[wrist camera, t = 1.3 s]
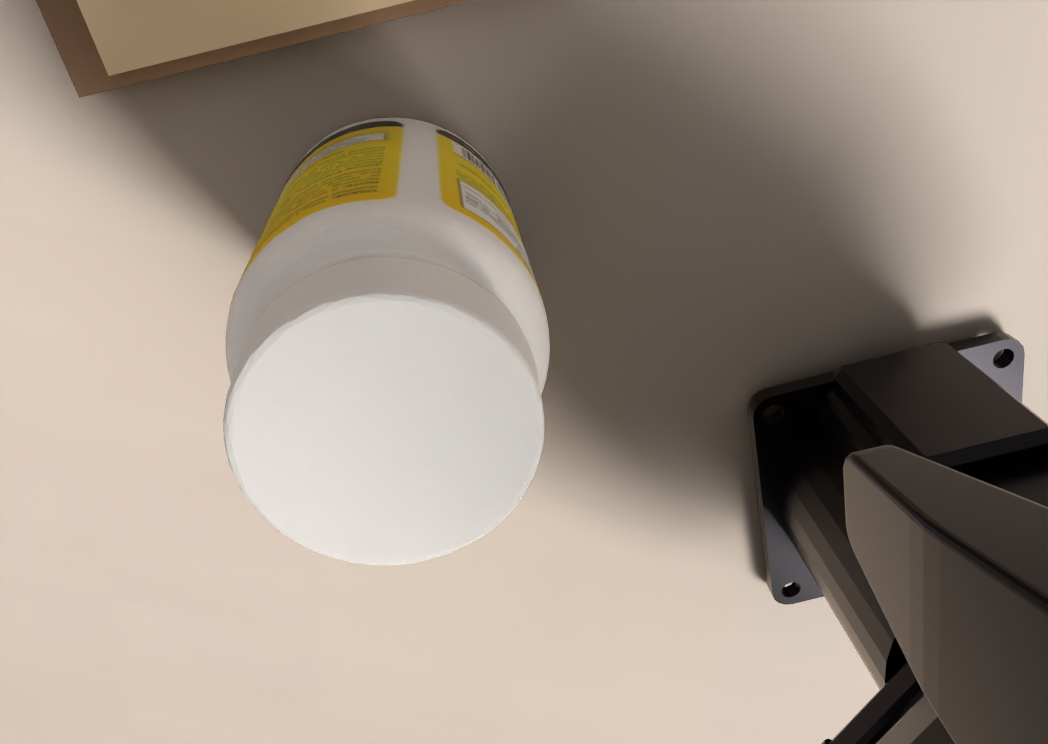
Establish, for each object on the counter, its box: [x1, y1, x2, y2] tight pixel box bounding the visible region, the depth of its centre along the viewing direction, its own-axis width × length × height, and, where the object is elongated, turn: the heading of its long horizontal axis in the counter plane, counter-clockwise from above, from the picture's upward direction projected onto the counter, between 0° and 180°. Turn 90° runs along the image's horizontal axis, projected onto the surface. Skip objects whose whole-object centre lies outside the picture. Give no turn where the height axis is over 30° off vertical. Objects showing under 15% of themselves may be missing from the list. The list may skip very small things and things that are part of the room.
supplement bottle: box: [223, 118, 550, 565], centre depth 15 cm, size 5×5×8 cm
